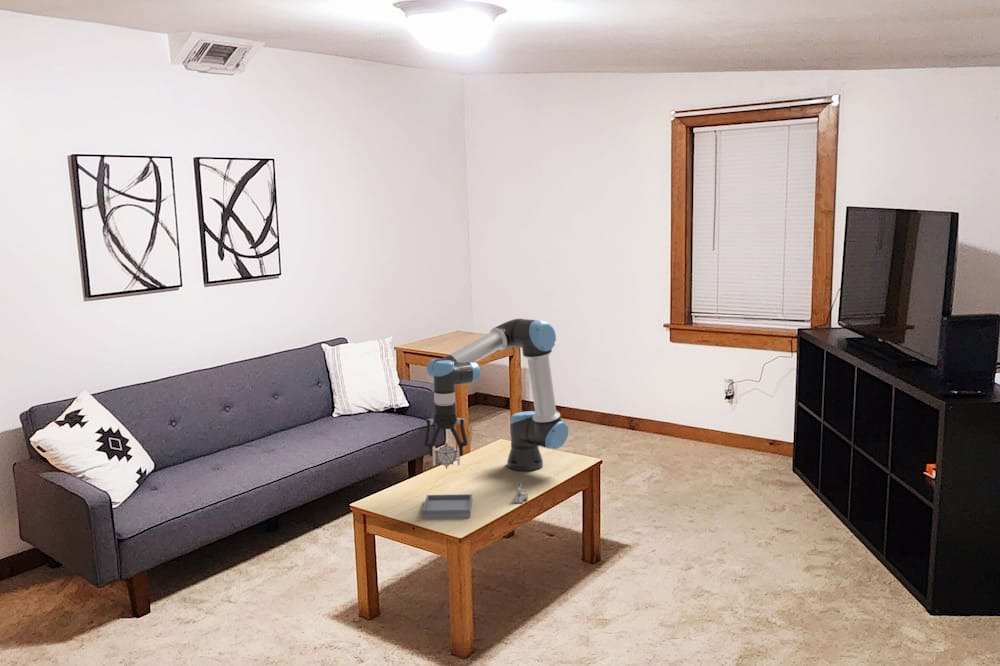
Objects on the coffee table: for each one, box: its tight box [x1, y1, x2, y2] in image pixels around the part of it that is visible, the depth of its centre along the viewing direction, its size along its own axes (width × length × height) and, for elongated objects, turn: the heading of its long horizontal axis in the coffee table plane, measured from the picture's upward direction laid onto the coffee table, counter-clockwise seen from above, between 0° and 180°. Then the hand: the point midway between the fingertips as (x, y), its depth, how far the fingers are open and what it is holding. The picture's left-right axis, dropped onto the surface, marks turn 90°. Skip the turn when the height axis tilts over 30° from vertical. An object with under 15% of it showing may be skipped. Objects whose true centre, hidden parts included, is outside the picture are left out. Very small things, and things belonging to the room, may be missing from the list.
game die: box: [435, 442, 457, 470], centre depth 302 cm, size 9×8×10 cm
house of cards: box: [512, 481, 529, 504], centre depth 312 cm, size 9×9×8 cm
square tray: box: [421, 493, 474, 519], centre depth 305 cm, size 17×17×3 cm
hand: (446, 464), depth 302 cm, fingers closed on game die, 8 cm apart
